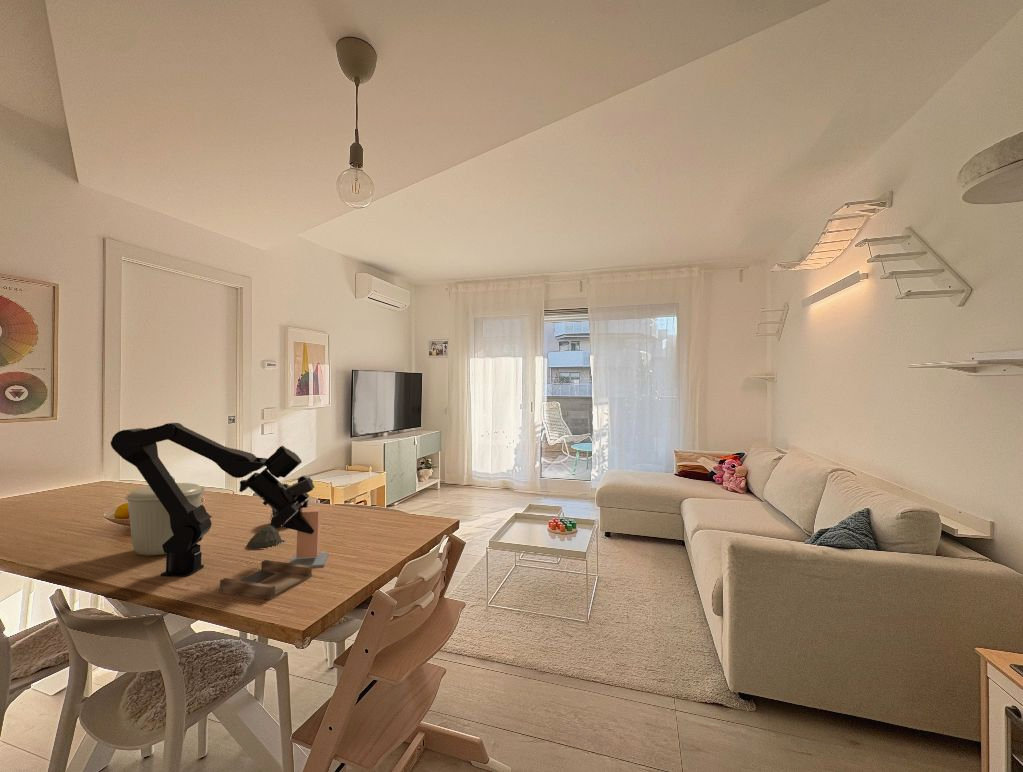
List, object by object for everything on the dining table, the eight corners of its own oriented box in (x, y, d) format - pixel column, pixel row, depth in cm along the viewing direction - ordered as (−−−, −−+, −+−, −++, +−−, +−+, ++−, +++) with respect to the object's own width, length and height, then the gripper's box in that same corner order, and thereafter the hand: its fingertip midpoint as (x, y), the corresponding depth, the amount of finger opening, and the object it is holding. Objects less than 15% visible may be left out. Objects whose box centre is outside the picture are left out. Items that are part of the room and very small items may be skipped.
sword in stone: (259, 552, 123) (259, 509, 124) (241, 549, 126) (241, 507, 127) (290, 541, 132) (290, 502, 133) (272, 539, 136) (272, 500, 136)
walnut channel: (219, 591, 98) (219, 580, 98) (265, 570, 110) (265, 559, 110) (270, 600, 94) (270, 588, 94) (311, 576, 107) (312, 565, 107)
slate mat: (286, 569, 111) (286, 567, 111) (293, 557, 119) (293, 555, 119) (323, 566, 113) (323, 564, 113) (328, 554, 122) (328, 552, 122)
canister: (145, 541, 130) (148, 471, 131) (213, 537, 135) (216, 470, 135) (105, 564, 113) (109, 483, 113) (185, 558, 117) (188, 480, 118)
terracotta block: (296, 558, 113) (297, 512, 114) (300, 551, 118) (301, 507, 118) (316, 556, 115) (318, 511, 115) (319, 550, 119) (321, 506, 120)
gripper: (287, 474, 107) (333, 516, 110) (302, 463, 125) (341, 499, 128) (250, 507, 105) (298, 550, 107) (271, 491, 123) (311, 528, 125)
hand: (314, 529), depth 117 cm, fingers closed on terracotta block, 5 cm apart
